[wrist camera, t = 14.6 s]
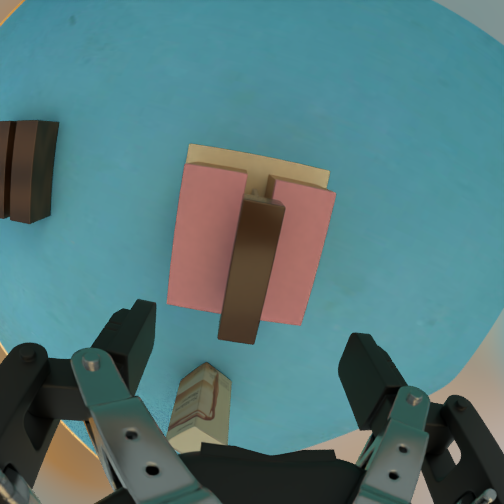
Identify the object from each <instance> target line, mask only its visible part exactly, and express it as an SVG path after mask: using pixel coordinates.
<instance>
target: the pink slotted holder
mask: <svg viewBox="0 0 504 504" xmlns="http://www.w3.org/2000/svg"><path fill="white" fill-rule="evenodd" d="M329 175H330V171H328V170H324V169H319V168H315V167H311V166H307V165H302V164H298V163H294V162H289V161H284V160H280V159H275V158H270V157H265V156H260V155H255V154H250V153H244V152H239V151H233V150H228V149H222V148H216V147H209V146H203V145H196V144H189V148H188V154H187V159H186V164H185V165H184V171H183V177H182V183H181V189H180V196H179V203H178V210H177V217H176V224H175V232H174V239H173V248H172V256H171V265H170V274H169V284H168V295H167V304H169V305H175V306H180V307H185V308H190V309H196V310H201V311H207V312H213V313H219V314H221V309H222V304H223V298H224V292H225V287H226V281H227V275H228V270H229V264H230V259H231V253H232V248H233V243H234V237H235V232H236V227H237V221H238V216H239V211H240V205H241V200H242V195H243V194H249V195H251V194H252V189H257V191H258V194H259V196H260V197H264V198H270V199H275V200H280V201H281V202H282V203H283V205H284V206H285V207H286V210H285V214H284V219H283V223H282V228H281V232H280V237H279V241H278V245H277V250H276V254H275V259H274V263H273V267H272V272H271V276H270V280H269V285H268V289H267V293H266V297H265V302H264V306H263V310H262V314H261V318H260V320H263V321H270V322H277V323H284V324H291V325H299V326H301V323H302V320H303V317H304V313H305V310H306V307H307V303H308V300H309V296H310V293H311V289H312V286H313V282H314V279H315V275H316V271H317V268H318V264H319V260H320V257H321V253H322V249H323V245H324V242H325V238H326V234H327V230H328V226H329V222H330V218H331V214H332V210H333V205H334V201H335V197H336V193H335V192H333V191H330V190H328V189H326V188H327V184H328V180H329Z"/></svg>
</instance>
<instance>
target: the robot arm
mask: <svg viewBox="0 0 504 504" xmlns="http://www.w3.org/2000/svg"><path fill="white" fill-rule="evenodd" d="M155 323H156V303H155V302H150V301H146V300H141V299H137V300H136V302H135V304H134V305H133V307H132V308H131V310H129V309H124V308H123V309H121V310H119V311H117V312H116V313H114V314H113V315H112V317H111V318H110V320H109V322H107V324H106V325H105V328H103V330H102V331H101V333H100V334H99V336H98V337H97V339H96V340H95V341H94V343H93V344H92V346H91V347H90V348H84V349H81V350H78V351H77V352H75V353H74V354H73V355H72V357H71V359H57V358H48V354H47V351H46V349H45V348H44V347H43V346H41V345H39V344H36V343H23V344H20V345H17V346H16V347H14V348H13V349H12V350H11V352H10V353H9V354H8V355H7V357H6V358H5V359H4V360H3V362H2V363H1V364H0V504H41V502H40V500H39V499H38V497H37V496H36V494H35V493H34V492H33V490H32V488H33V486H34V483H35V480H36V478H37V475H38V472H39V470H40V467H41V465H42V462H43V460H44V457H45V455H46V452H47V450H48V447H49V445H50V443H51V440H52V438H53V436H54V433H55V431H56V429H57V427H58V424H59V422H60V420H61V419H63V420H77V421H83V422H84V424H85V427H86V429H87V432H88V434H89V437H90V439H91V441H92V444H93V446H94V448H95V451H96V453H97V455H98V457H99V459H100V462H101V464H102V466H103V469H104V471H105V474H106V476H107V478H108V480H109V483H110V484H111V486H112V488H113V490H114V492H113V493H112V494H110V495H108V496H107V497H105V498H103V499H101V500H100V501H98V502H96V503H94V504H411V499H412V497H413V493H414V490H415V487H416V484H417V481H418V478H419V474H420V471H422V473H423V476H424V478H425V481H426V484H427V486H428V489H429V491H430V494H431V497H432V499H433V502H434V504H504V454H503V452H502V450H501V449H500V447H499V445H498V444H497V442H496V441H495V439H494V437H493V436H492V434H491V433H490V431H489V429H488V428H487V426H486V425H485V423H484V422H483V420H482V419H481V417H480V416H479V414H478V413H477V411H476V410H475V408H474V407H473V405H472V404H471V402H470V401H468V400H467V399H466V398H464V397H462V396H459V395H451V396H449V397H448V398H447V400H446V401H445V403H444V404H438V403H433V402H430V399H429V397H428V395H427V394H426V393H425V392H424V391H422V390H421V389H419V388H417V387H414V386H408V385H407V383H406V382H405V380H404V378H403V377H402V375H401V374H400V372H399V371H398V369H397V368H396V366H395V364H394V363H393V362H392V360H391V358H390V356H389V355H388V353H387V352H386V351H384V350H383V349H382V348H381V347H380V346H377V344H376V342H375V341H374V339H373V338H372V336H371V335H370V334H365V333H352V334H351V335H350V337H349V340H348V342H347V345H346V347H345V350H344V352H343V354H342V357H341V359H340V362H339V366H338V375H339V378H340V380H341V383H342V385H343V388H344V390H345V393H346V395H347V398H348V401H349V403H350V406H351V408H352V411H353V414H354V416H355V419H356V421H357V424H358V427H359V429H360V430H372V432H373V433H372V434H371V436H370V437H369V439H368V441H367V443H366V445H365V447H364V449H363V451H362V453H361V455H360V456H359V458H358V460H357V462H356V464H353V463H350V462H347V461H344V460H340V459H336V456H335V452H334V450H301V451H296V452H291V453H285V454H280V455H273V456H272V455H266V454H262V453H258V452H254V451H251V450H247V449H244V448H240V447H237V446H230V445H221V444H213V443H206V442H201V447H200V451H192V452H185V453H182V454H177V453H176V452H175V450H174V449H173V447H172V446H171V444H170V443H169V442H168V440H167V439H166V437H165V436H164V434H163V433H162V431H161V430H160V428H159V427H158V425H157V424H156V422H155V420H154V419H153V417H152V416H151V414H150V412H149V411H148V409H147V408H146V406H145V404H144V403H143V401H142V400H141V398H140V397H139V396H135V393H136V390H137V388H138V385H139V382H140V380H141V377H142V375H143V372H144V370H145V367H146V364H147V362H148V359H149V357H150V354H151V352H152V349H153V345H154V339H155ZM454 439H455V441H456V443H457V445H458V447H459V449H460V451H461V459H460V461H459V463H458V464H457V465H455V463H454V461H453V459H452V457H451V454H450V452H449V451H448V449H447V448H448V447H449V445H450V444H451V443H452V442H453V441H454Z"/></svg>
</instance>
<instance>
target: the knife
mask: <svg viewBox="0 0 504 504" xmlns="http://www.w3.org/2000/svg"><path fill="white" fill-rule="evenodd" d="M285 210H286V207H285V206H284V205H283V203H282V202H281V201H280V200H275V199H270V198H264V197H260V196H259V194H258V191H257V189H252V194H251V195H249V194H243V195H242V200H241V205H240V211H239V216H238V221H237V227H236V232H235V237H234V243H233V248H232V253H231V259H230V264H229V270H228V275H227V281H226V287H225V292H224V298H223V304H222V309H221V315H220V321H219V329H218V337H217V338H218V339H219V340H225V341H232V342H238V343H245V344H252V345H253V344H254V343H255V339H256V335H257V331H258V327H259V323H260V318H261V314H262V310H263V306H264V302H265V297H266V293H267V289H268V285H269V280H270V276H271V272H272V267H273V263H274V259H275V254H276V250H277V245H278V241H279V237H280V232H281V228H282V223H283V219H284V214H285Z"/></svg>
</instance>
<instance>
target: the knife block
mask: <svg viewBox="0 0 504 504" xmlns="http://www.w3.org/2000/svg"><path fill="white" fill-rule="evenodd" d="M58 127H59V122H52V121H41V120H22V121H0V218H2V219H5V218H7V217H10V220H12V221H17V222H22V223H27V224H31V223H34V222H36V221H38V220H41V219H43V218H46V217H48V216H50V210H51V190H52V176H53V165H54V156H55V148H56V140H57V133H58Z"/></svg>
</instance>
